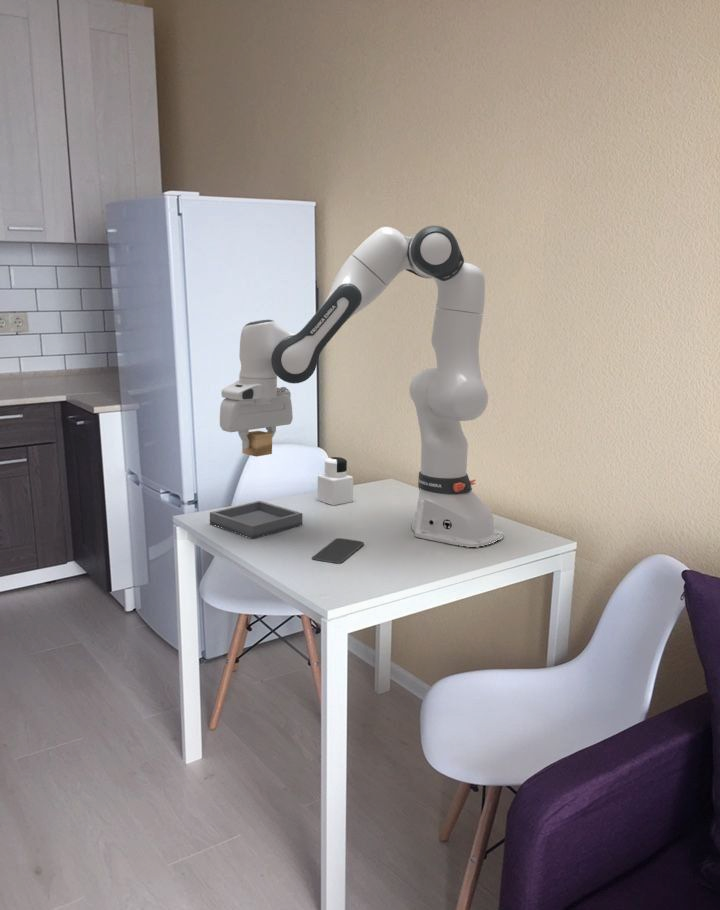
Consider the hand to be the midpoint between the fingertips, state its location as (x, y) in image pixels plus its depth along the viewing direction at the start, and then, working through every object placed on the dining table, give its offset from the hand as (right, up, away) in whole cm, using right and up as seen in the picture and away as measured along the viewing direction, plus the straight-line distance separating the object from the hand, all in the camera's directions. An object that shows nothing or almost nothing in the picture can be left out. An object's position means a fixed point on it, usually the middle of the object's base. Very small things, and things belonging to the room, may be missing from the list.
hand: (257, 446), depth 194 cm
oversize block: (0, -2, 0) cm, 2 cm away
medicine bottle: (+18, -15, +28) cm, 36 cm away
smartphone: (+20, -24, -13) cm, 34 cm away
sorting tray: (-1, -19, +5) cm, 20 cm away
